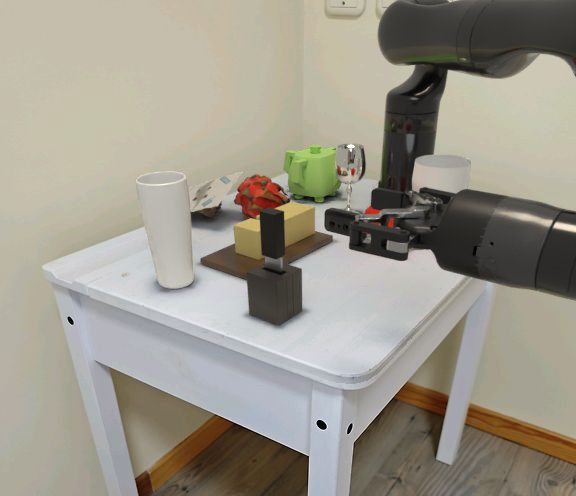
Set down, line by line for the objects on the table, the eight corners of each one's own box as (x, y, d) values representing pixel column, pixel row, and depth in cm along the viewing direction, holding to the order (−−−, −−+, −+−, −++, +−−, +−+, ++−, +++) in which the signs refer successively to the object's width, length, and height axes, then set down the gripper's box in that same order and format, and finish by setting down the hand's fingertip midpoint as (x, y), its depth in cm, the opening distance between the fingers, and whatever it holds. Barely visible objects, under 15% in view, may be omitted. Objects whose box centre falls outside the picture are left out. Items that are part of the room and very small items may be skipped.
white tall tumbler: (178, 296, 79) (162, 187, 70) (143, 286, 82) (123, 180, 73) (209, 278, 83) (197, 174, 75) (174, 269, 86) (159, 168, 78)
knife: (272, 307, 75) (268, 207, 68) (287, 312, 74) (284, 211, 66) (264, 312, 74) (258, 211, 66) (278, 318, 73) (275, 215, 65)
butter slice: (252, 245, 91) (250, 217, 89) (275, 252, 89) (274, 224, 86) (235, 252, 89) (233, 224, 86) (258, 260, 86) (257, 231, 83)
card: (197, 207, 114) (183, 186, 111) (256, 192, 106) (243, 168, 103) (170, 242, 108) (155, 220, 105) (231, 228, 99) (216, 204, 96)
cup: (462, 228, 98) (474, 155, 91) (458, 246, 91) (470, 170, 84) (410, 223, 101) (418, 152, 94) (402, 241, 94) (409, 166, 87)
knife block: (273, 300, 77) (272, 259, 74) (302, 310, 74) (302, 268, 71) (249, 314, 74) (246, 272, 70) (278, 325, 71) (276, 282, 68)
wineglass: (362, 220, 103) (365, 150, 96) (330, 218, 104) (332, 150, 97) (364, 210, 107) (368, 143, 100) (334, 208, 108) (336, 142, 101)
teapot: (293, 206, 110) (292, 154, 104) (281, 190, 119) (280, 141, 113) (351, 201, 112) (353, 149, 106) (335, 185, 121) (336, 136, 115)
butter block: (292, 227, 98) (291, 201, 95) (315, 233, 95) (315, 206, 92) (257, 242, 92) (255, 215, 89) (280, 249, 89) (279, 222, 87)
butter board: (282, 227, 100) (282, 222, 100) (332, 241, 94) (332, 235, 94) (200, 264, 88) (200, 258, 87) (252, 282, 82) (252, 275, 81)
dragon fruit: (242, 218, 109) (287, 242, 103) (215, 202, 102) (261, 226, 96) (263, 178, 107) (309, 199, 101) (236, 158, 100) (285, 180, 94)
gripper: (538, 179, 53) (388, 156, 61) (473, 220, 44) (308, 187, 52) (521, 255, 57) (383, 224, 66) (458, 306, 48) (308, 263, 57)
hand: (350, 207), depth 59 cm, fingers open, 8 cm apart
